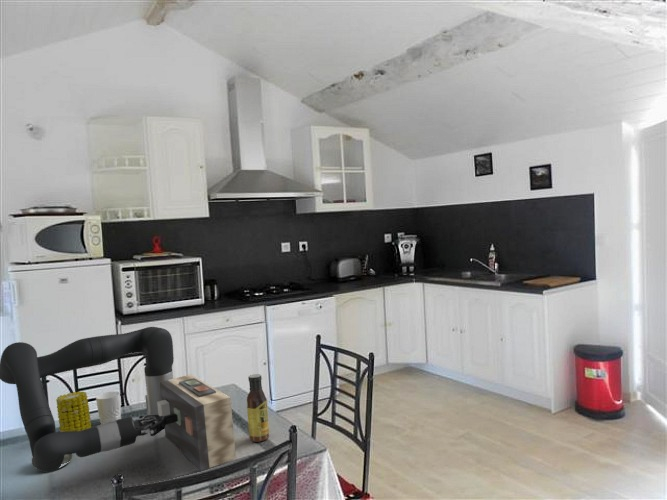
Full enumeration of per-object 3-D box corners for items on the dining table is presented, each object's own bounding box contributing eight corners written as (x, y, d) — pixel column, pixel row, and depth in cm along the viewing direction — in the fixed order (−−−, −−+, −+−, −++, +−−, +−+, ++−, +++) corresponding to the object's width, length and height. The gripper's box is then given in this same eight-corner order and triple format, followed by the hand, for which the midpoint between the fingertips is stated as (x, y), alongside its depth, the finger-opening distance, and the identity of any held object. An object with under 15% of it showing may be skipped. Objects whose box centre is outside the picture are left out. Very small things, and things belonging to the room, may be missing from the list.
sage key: (179, 425, 153) (178, 411, 153) (174, 421, 157) (173, 408, 156) (187, 423, 155) (186, 409, 154) (183, 419, 158) (181, 405, 158)
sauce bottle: (265, 443, 157) (260, 379, 156) (246, 442, 159) (241, 379, 157) (272, 434, 164) (267, 372, 163) (254, 433, 165) (248, 372, 164)
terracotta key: (191, 435, 145) (189, 421, 145) (186, 431, 148) (184, 417, 148) (199, 433, 146) (198, 418, 146) (194, 428, 150) (193, 414, 150)
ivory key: (162, 418, 160) (161, 405, 160) (158, 414, 164) (157, 401, 163) (170, 416, 162) (169, 402, 161) (166, 412, 165) (165, 399, 165)
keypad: (200, 470, 143) (194, 404, 141) (165, 435, 169) (159, 379, 168) (235, 458, 149) (230, 394, 147) (196, 426, 175) (191, 371, 174)
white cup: (103, 419, 188) (100, 392, 188) (125, 417, 189) (122, 390, 188) (95, 428, 181) (92, 400, 180) (118, 425, 181) (115, 397, 181)
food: (66, 448, 169) (61, 440, 177) (103, 429, 176) (96, 422, 184) (49, 406, 166) (45, 400, 175) (87, 389, 173) (81, 384, 181)
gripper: (111, 440, 150) (171, 423, 160) (122, 455, 140) (185, 436, 149) (109, 414, 150) (168, 399, 160) (119, 428, 139) (183, 410, 149)
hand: (176, 417), depth 155 cm, fingers closed
